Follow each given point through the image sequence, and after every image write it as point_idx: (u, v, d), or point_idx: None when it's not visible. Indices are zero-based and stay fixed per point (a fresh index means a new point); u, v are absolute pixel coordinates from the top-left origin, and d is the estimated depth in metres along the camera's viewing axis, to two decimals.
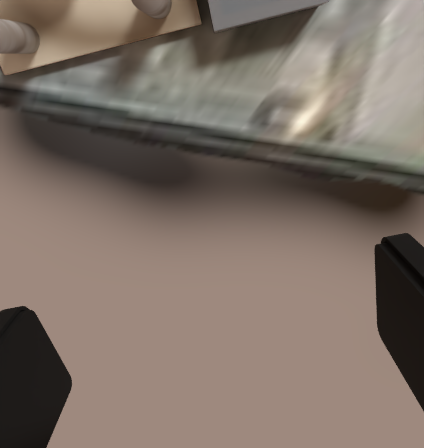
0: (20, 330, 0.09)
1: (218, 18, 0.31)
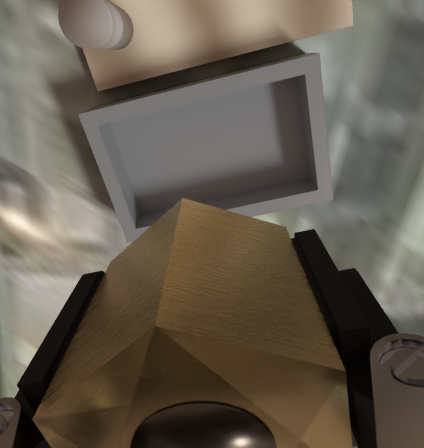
0: None
1: (93, 119, 0.24)
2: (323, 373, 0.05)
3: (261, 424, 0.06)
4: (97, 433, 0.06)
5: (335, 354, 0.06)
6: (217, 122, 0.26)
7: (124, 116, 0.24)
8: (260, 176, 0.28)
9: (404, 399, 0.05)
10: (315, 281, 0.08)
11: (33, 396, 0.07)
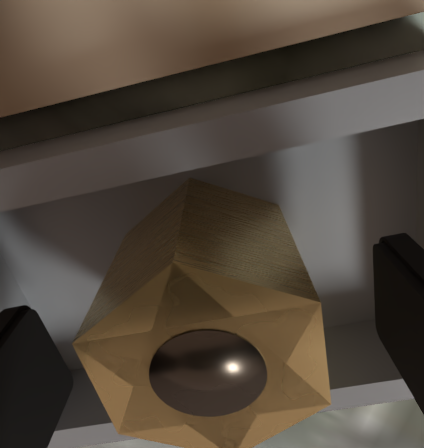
0: (22, 329, 0.09)
1: None
2: (304, 304, 0.07)
3: (254, 349, 0.07)
4: (123, 356, 0.08)
5: (314, 292, 0.07)
6: None
7: None
8: None
9: None
10: None
11: None
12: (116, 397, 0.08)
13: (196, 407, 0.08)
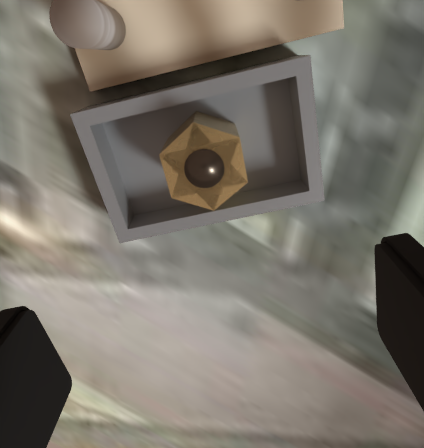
0: (20, 330, 0.09)
1: (85, 119, 0.24)
2: (234, 138, 0.22)
3: (219, 156, 0.23)
4: (175, 160, 0.23)
5: (239, 137, 0.22)
6: None
7: (116, 116, 0.24)
8: (252, 177, 0.28)
9: None
10: None
11: None
12: (172, 179, 0.23)
13: (200, 183, 0.23)
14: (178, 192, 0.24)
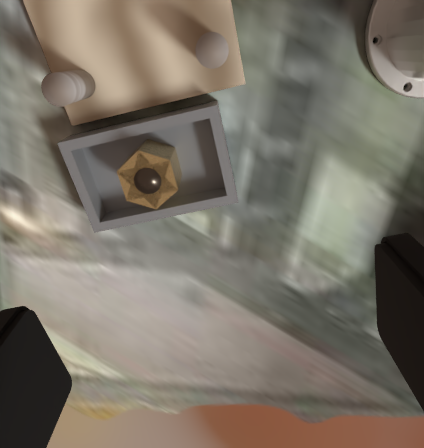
0: (20, 330, 0.09)
1: (67, 146, 0.35)
2: (166, 161, 0.33)
3: (157, 172, 0.33)
4: (127, 175, 0.33)
5: (170, 159, 0.33)
6: None
7: (89, 144, 0.34)
8: (191, 185, 0.39)
9: None
10: None
11: None
12: (126, 188, 0.34)
13: (145, 190, 0.34)
14: (131, 196, 0.34)
